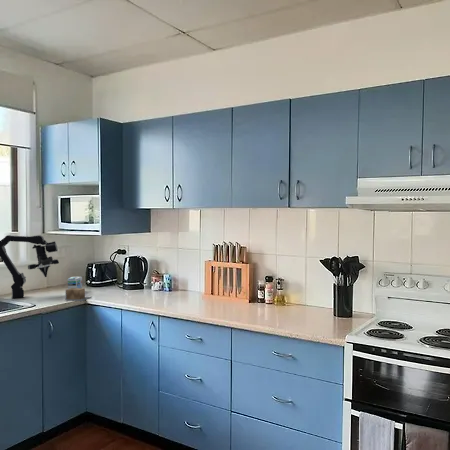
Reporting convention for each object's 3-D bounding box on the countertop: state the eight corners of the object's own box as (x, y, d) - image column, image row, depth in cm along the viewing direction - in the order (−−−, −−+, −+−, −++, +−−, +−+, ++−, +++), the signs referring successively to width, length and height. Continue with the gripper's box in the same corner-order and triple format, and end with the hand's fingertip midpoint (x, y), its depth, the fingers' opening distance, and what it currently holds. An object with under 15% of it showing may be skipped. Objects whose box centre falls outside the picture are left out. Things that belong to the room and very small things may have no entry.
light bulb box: (77, 294, 309) (77, 278, 309) (67, 294, 309) (67, 278, 309) (82, 291, 320) (82, 276, 319) (73, 291, 320) (72, 276, 320)
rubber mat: (64, 300, 287) (64, 300, 287) (74, 297, 299) (74, 296, 299) (82, 301, 285) (82, 300, 285) (91, 297, 296) (91, 296, 296)
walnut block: (65, 289, 290) (80, 290, 288) (70, 288, 296) (84, 288, 294) (65, 299, 290) (80, 299, 288) (70, 297, 296) (84, 297, 294)
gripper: (30, 257, 290) (34, 280, 291) (59, 251, 302) (63, 274, 303) (25, 256, 299) (29, 280, 300) (54, 251, 310) (58, 273, 311)
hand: (45, 277), depth 303 cm, fingers closed
